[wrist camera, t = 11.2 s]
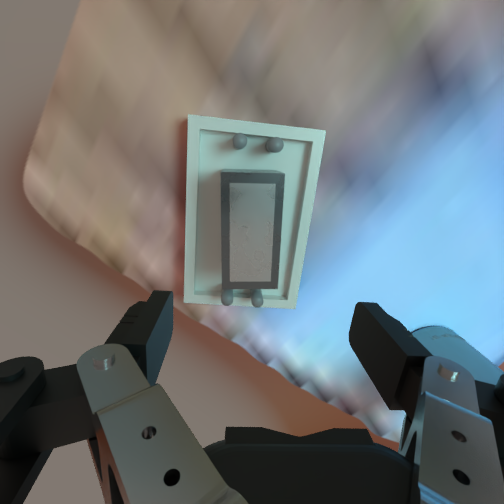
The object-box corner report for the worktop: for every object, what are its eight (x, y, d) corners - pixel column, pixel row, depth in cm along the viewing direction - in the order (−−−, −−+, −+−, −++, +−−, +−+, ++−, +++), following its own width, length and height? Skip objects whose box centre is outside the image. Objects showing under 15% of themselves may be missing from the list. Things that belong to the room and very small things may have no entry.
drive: (270, 267, 30) (278, 289, 25) (223, 267, 29) (221, 289, 24) (276, 169, 26) (285, 173, 22) (223, 168, 26) (220, 172, 21)
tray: (291, 299, 32) (299, 319, 28) (187, 292, 31) (180, 312, 27) (318, 132, 27) (333, 128, 23) (191, 117, 25) (184, 110, 22)
